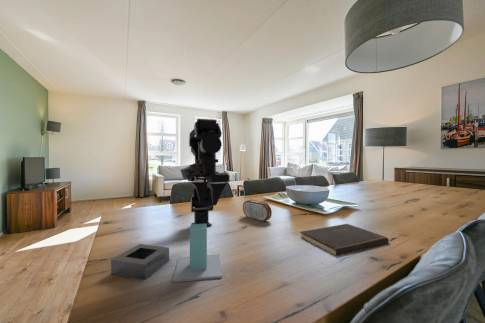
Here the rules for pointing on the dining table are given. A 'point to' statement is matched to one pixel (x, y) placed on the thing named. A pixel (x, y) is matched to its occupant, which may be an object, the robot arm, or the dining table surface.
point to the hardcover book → (343, 238)
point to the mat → (186, 275)
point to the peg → (198, 247)
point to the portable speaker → (257, 210)
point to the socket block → (140, 261)
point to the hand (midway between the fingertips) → (207, 203)
